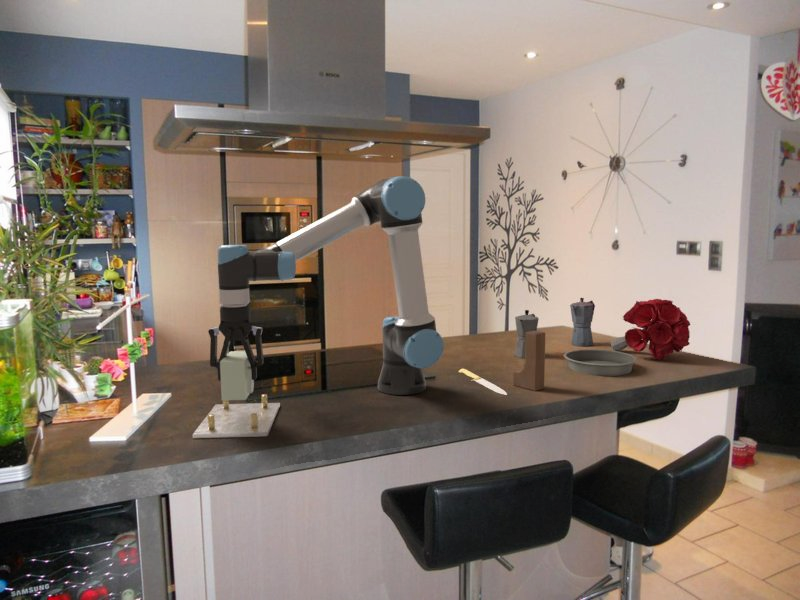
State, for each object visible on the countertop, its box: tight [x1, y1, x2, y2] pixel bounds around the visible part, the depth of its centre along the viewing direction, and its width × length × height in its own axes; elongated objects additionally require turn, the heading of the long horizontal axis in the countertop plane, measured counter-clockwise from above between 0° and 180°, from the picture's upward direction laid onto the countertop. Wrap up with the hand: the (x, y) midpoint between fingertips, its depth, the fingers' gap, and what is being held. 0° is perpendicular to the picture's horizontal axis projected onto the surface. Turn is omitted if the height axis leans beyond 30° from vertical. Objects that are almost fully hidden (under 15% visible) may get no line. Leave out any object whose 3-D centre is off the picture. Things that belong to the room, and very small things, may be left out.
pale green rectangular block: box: [220, 350, 255, 401], centre depth 157 cm, size 6×12×10 cm, turn 4°
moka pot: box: [569, 297, 596, 347], centre depth 252 cm, size 10×15×20 cm, turn 133°
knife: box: [458, 368, 508, 396], centre depth 195 cm, size 1×32×5 cm
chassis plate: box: [192, 393, 281, 439], centre depth 158 cm, size 18×24×4 cm
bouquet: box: [610, 298, 691, 360], centre depth 229 cm, size 22×24×30 cm
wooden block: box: [512, 330, 546, 392], centre depth 188 cm, size 9×4×18 cm, turn 39°
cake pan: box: [563, 348, 638, 377], centre depth 212 cm, size 25×25×4 cm
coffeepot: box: [514, 309, 539, 359], centre depth 232 cm, size 15×9×18 cm, turn 149°
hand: (238, 391), depth 157 cm, fingers closed on pale green rectangular block, 6 cm apart
